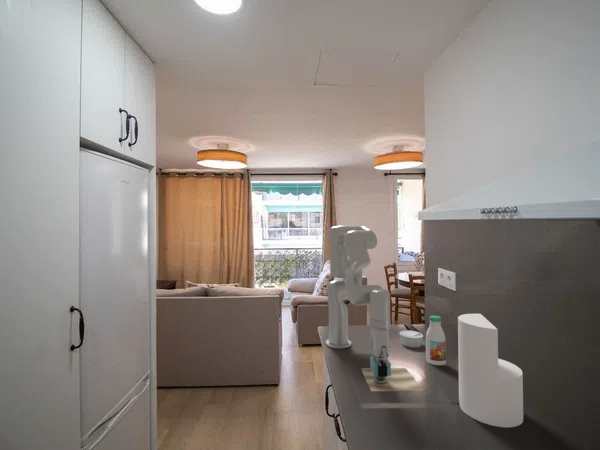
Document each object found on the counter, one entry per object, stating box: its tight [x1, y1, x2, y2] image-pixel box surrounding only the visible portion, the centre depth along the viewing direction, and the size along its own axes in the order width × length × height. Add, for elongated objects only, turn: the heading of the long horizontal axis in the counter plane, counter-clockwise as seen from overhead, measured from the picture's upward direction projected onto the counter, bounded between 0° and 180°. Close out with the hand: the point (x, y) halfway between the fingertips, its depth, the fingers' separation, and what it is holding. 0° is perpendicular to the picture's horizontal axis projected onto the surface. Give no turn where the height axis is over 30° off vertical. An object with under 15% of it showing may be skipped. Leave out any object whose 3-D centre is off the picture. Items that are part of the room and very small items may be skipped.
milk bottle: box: [425, 315, 447, 366], centre depth 133 cm, size 8×8×20 cm
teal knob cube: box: [369, 356, 392, 376], centre depth 116 cm, size 6×6×5 cm
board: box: [360, 367, 424, 392], centre depth 118 cm, size 18×18×1 cm
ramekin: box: [399, 329, 424, 349], centre depth 156 cm, size 11×11×5 cm
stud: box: [374, 376, 387, 384], centre depth 116 cm, size 4×4×6 cm
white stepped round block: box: [457, 313, 524, 428], centre depth 100 cm, size 17×17×28 cm
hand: (380, 371), depth 116 cm, fingers closed on teal knob cube, 5 cm apart
